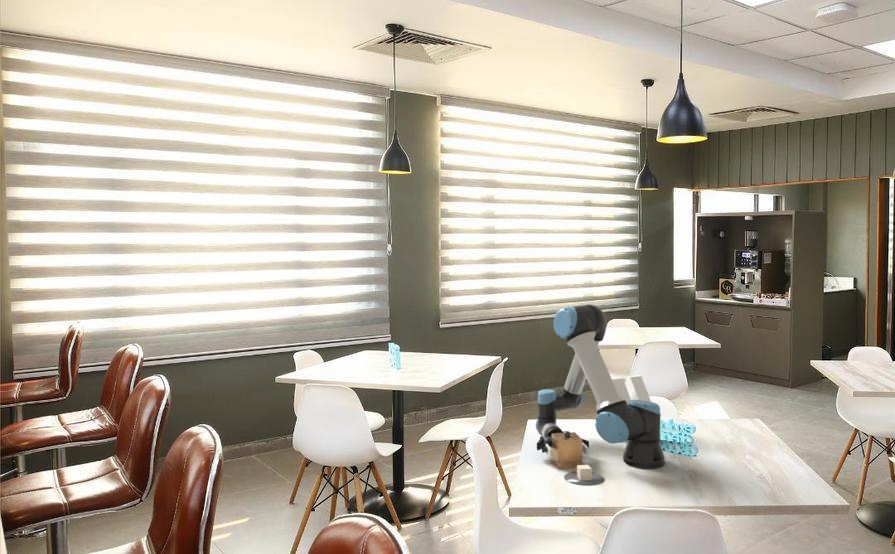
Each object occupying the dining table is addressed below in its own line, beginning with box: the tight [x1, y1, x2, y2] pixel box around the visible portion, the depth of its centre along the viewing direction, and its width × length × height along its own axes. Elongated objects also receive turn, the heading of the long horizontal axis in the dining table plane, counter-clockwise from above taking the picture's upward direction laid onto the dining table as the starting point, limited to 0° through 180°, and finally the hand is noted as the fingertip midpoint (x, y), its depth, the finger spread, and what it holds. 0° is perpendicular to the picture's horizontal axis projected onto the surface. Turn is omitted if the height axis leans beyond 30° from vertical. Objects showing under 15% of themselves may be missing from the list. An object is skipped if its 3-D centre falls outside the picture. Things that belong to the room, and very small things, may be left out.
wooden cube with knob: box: [551, 430, 583, 470], centre depth 250 cm, size 9×9×13 cm
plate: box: [563, 470, 606, 487], centre depth 236 cm, size 14×14×1 cm
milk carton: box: [596, 374, 652, 444], centre depth 289 cm, size 19×15×25 cm
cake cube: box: [576, 464, 593, 481], centre depth 236 cm, size 4×4×4 cm
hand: (569, 452), depth 247 cm, fingers open, 13 cm apart
